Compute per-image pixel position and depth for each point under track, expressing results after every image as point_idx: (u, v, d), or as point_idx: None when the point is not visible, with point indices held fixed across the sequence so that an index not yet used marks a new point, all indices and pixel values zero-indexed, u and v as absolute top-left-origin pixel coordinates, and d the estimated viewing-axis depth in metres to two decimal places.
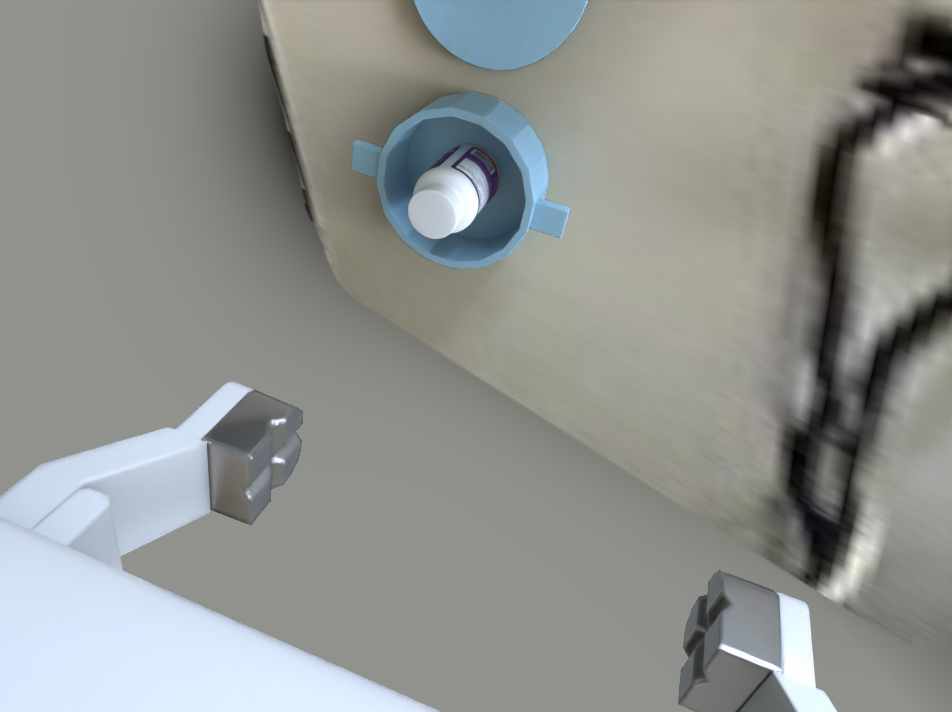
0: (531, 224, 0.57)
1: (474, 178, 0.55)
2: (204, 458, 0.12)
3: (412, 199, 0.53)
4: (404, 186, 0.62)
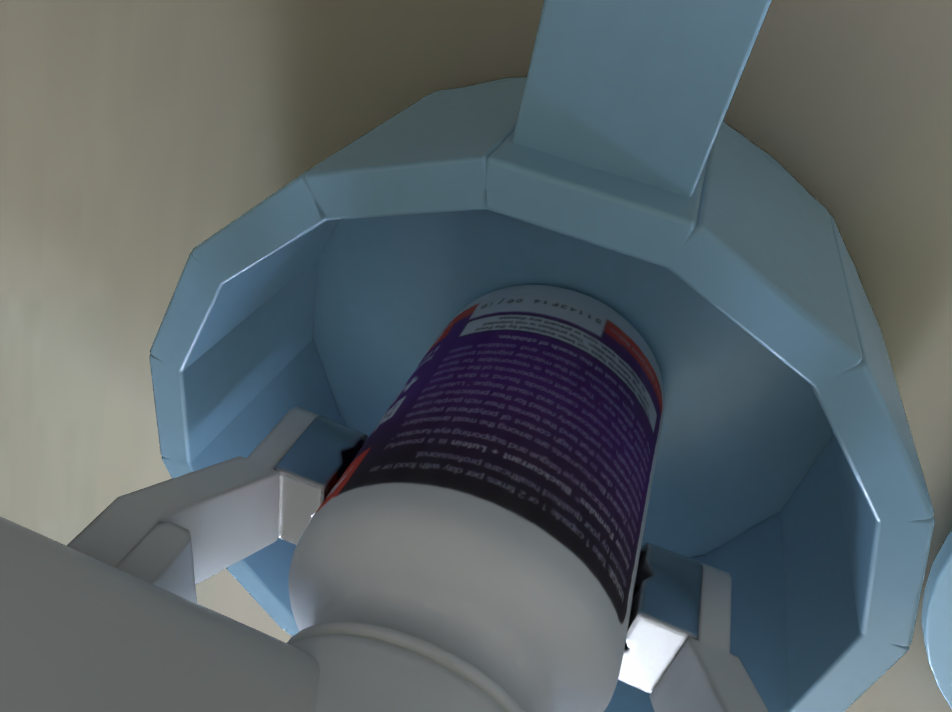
0: None
1: None
2: (276, 487, 0.12)
3: None
4: None
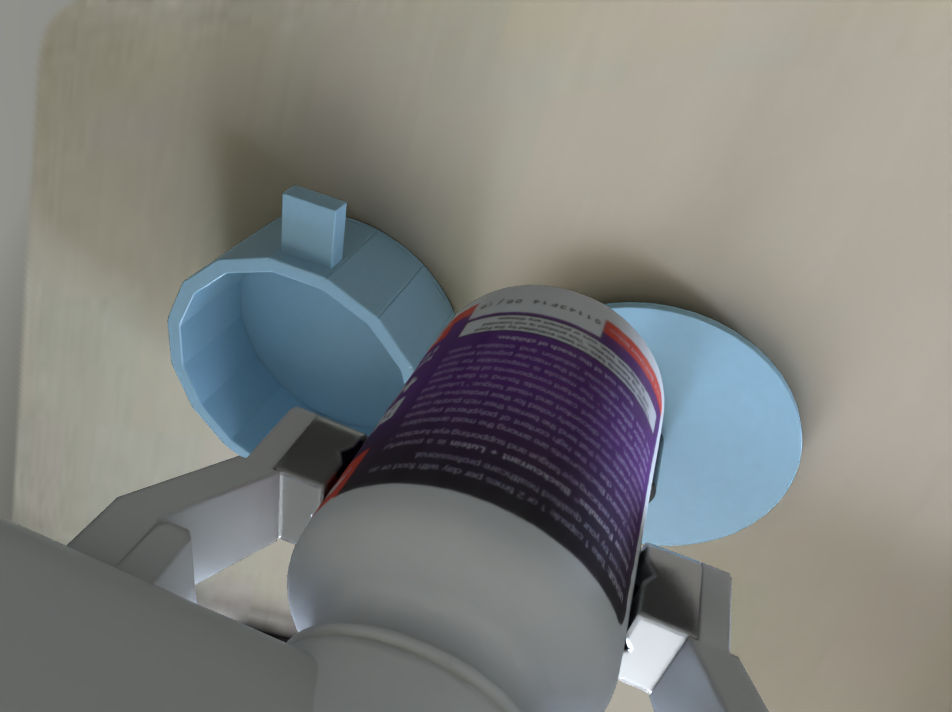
0: None
1: None
2: (276, 487, 0.12)
3: None
4: None
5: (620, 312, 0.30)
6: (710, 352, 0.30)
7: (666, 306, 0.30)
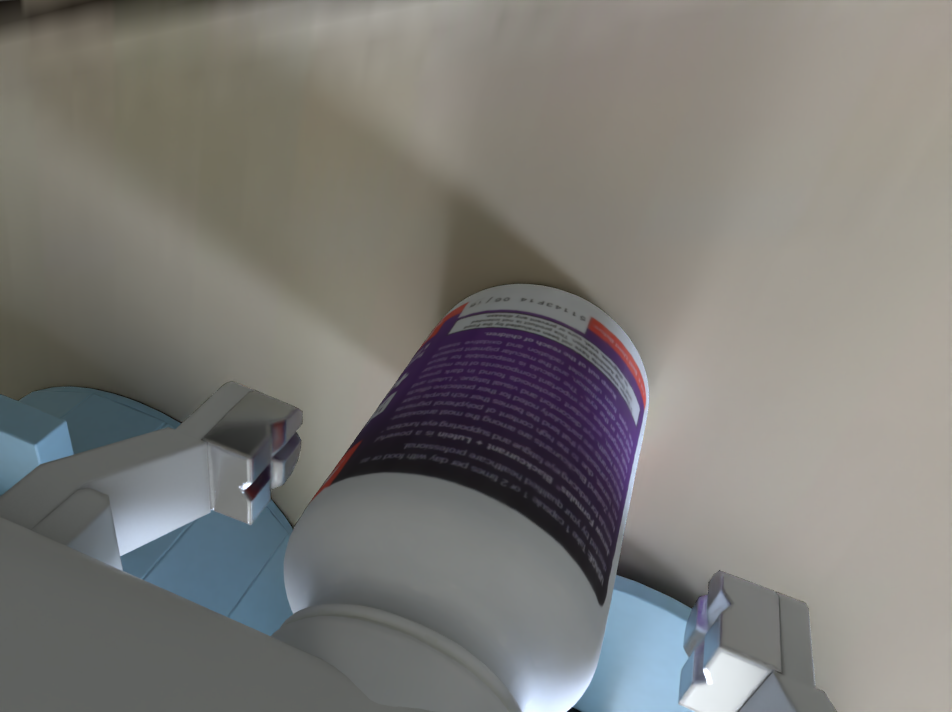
0: None
1: None
2: (204, 458, 0.12)
3: None
4: None
5: None
6: (661, 641, 0.19)
7: None
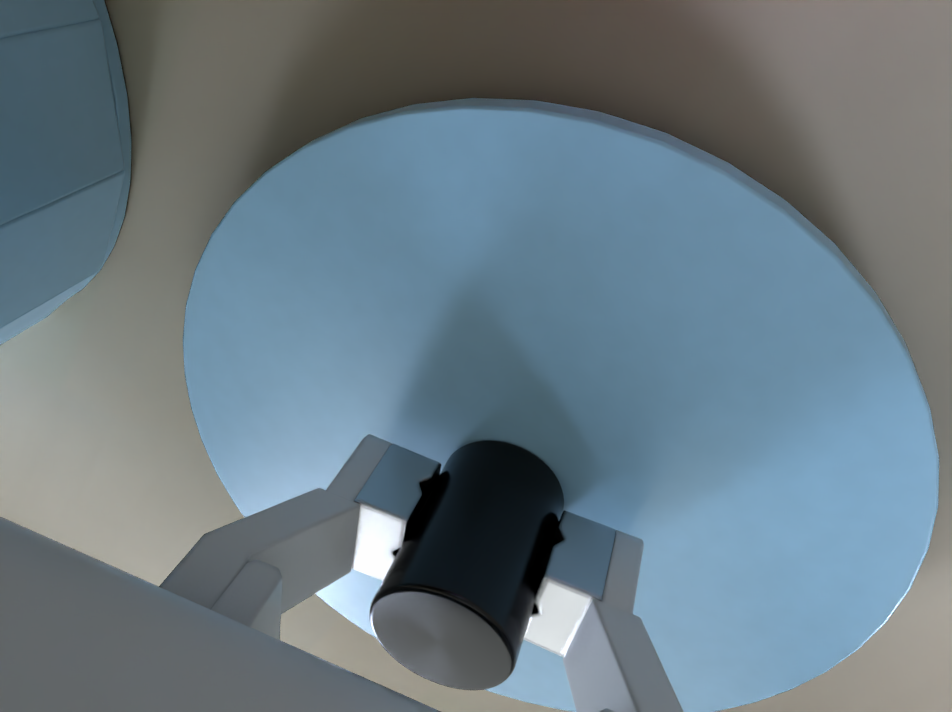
0: None
1: None
2: (356, 520, 0.11)
3: None
4: None
5: (568, 134, 0.09)
6: (782, 332, 0.10)
7: (710, 156, 0.09)
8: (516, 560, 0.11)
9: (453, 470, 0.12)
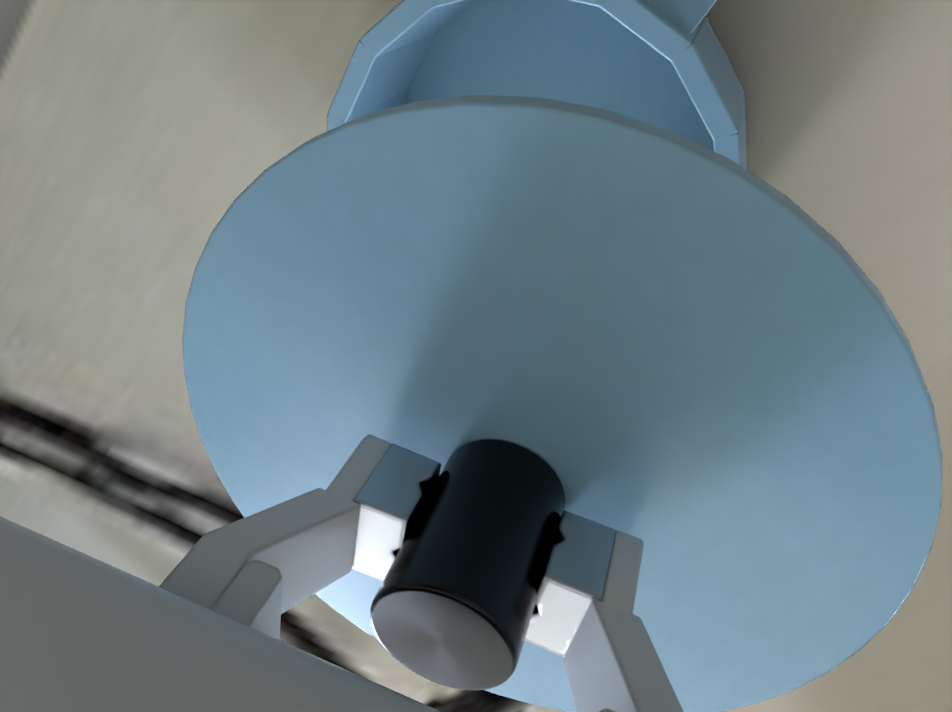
0: None
1: None
2: (356, 520, 0.11)
3: None
4: None
5: (569, 131, 0.09)
6: (784, 330, 0.10)
7: (712, 153, 0.09)
8: (518, 559, 0.11)
9: (454, 469, 0.12)
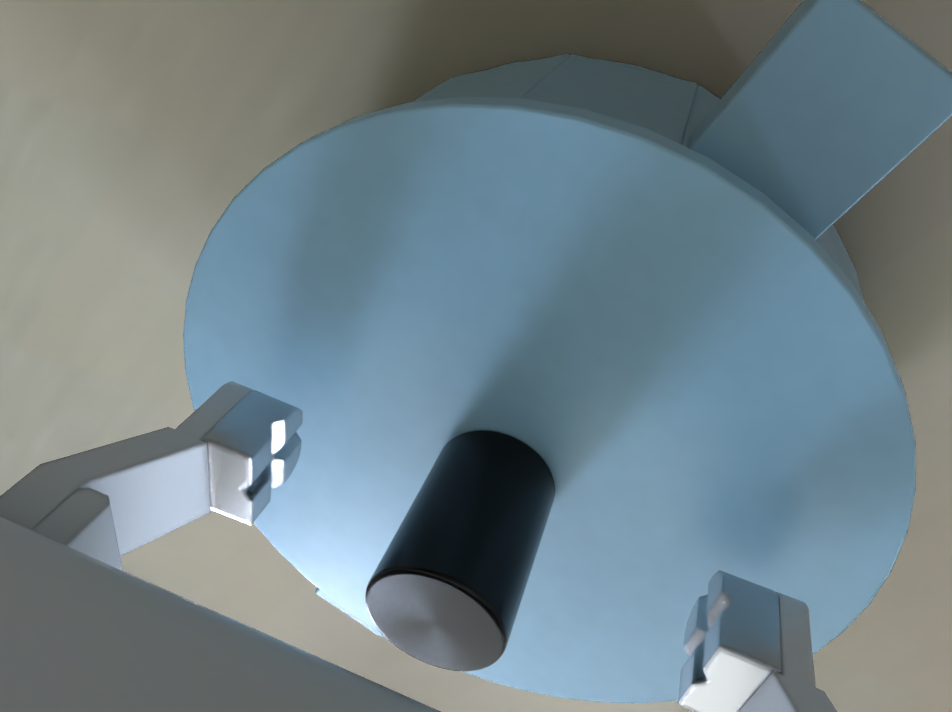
0: None
1: None
2: (204, 458, 0.12)
3: None
4: None
5: (553, 131, 0.10)
6: (762, 321, 0.10)
7: (690, 151, 0.10)
8: (507, 544, 0.11)
9: (446, 459, 0.13)
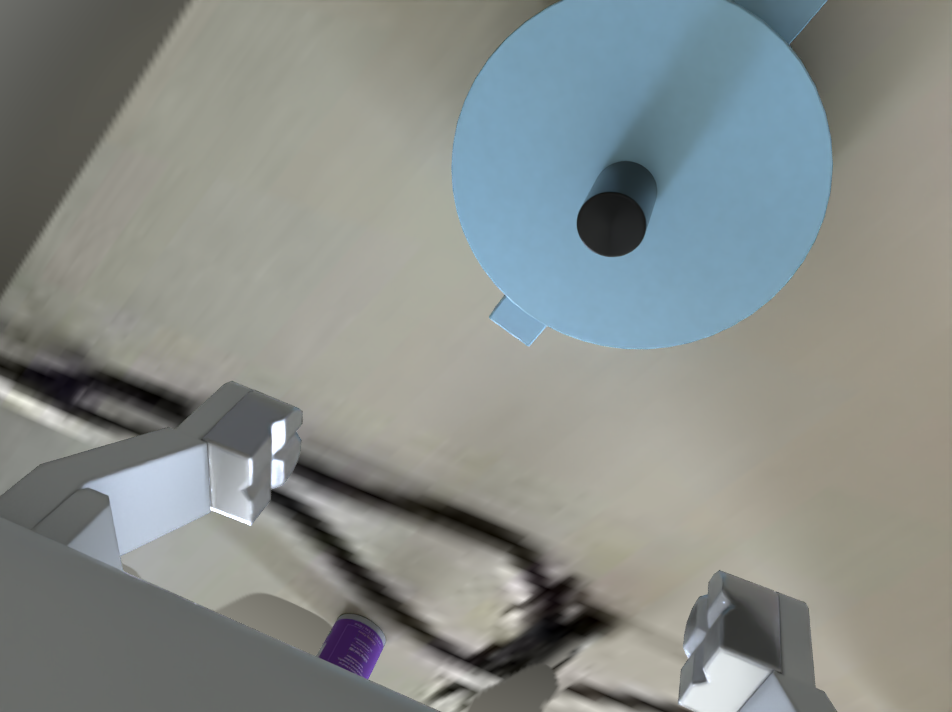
0: None
1: None
2: (204, 458, 0.12)
3: None
4: None
5: None
6: (762, 80, 0.23)
7: (731, 1, 0.23)
8: (643, 193, 0.24)
9: (605, 171, 0.26)
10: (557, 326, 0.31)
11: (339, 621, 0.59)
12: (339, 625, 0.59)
